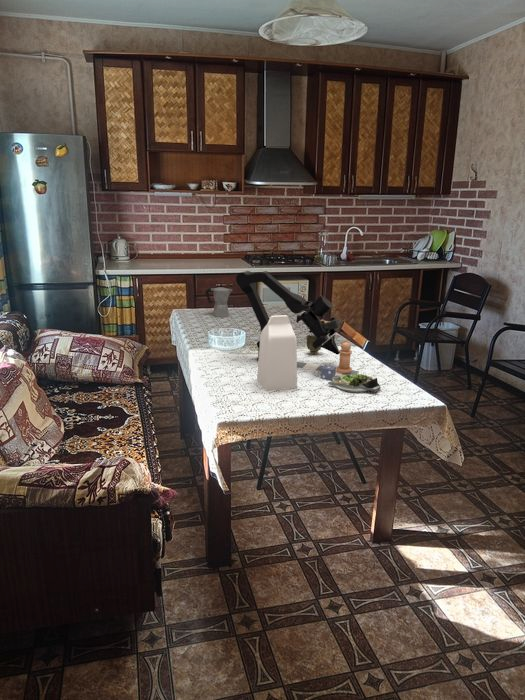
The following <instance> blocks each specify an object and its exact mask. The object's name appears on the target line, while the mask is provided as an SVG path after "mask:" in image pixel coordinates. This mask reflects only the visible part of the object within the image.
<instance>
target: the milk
mask: <svg viewBox="0 0 525 700" xmlns="http://www.w3.org/2000/svg"><path fill="white" fill-rule="evenodd" d="M259 337H260V338H259V341H260V347H259V360H258V359H257V360H258V363H257V374H256V380H257V382H258V384H260V386H261V387H262V388H263V389H264V390H265V391H276V390H291V389H298V388H297V387H298V377H297V376H298V367H297V362H298V353H297V352H298V346H297V345H298V344H297V343H298V340H297V336H296V334H295V331H294V328H293V327H292V324H291V321H290V319H289V316H288V315H285V314H284V315H271V316H270V317H269V321H268V323H267V325H266V326H265V327H264V329H263V330H262V332H261V331H260V336H259Z"/></svg>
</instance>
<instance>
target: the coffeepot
mask: <svg viewBox="0 0 525 700" xmlns="http://www.w3.org/2000/svg"><path fill="white" fill-rule="evenodd" d="M209 292H210V293H213V300H214V305H213V312H212V316H213V317H216V318H227V317H229V316H230V313H229V306H228V301H229V297H230V295H231V293H232V292H233V289H232V288H226V287H223V284H222V283H220V284H219V286H218V287H215V288H211V287H209V288H207V289H206V290H205V292H204V293H205V295H206V298H207V302H208V303H209V304H213V301H212V300H211V296H210V294H209Z"/></svg>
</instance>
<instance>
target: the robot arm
mask: <svg viewBox="0 0 525 700" xmlns="http://www.w3.org/2000/svg"><path fill="white" fill-rule="evenodd" d="M235 282H236V284H237V286H238V288H239V289H240V291H241V292H243V293H244V294H245V295H246V298H247V300H248V301H249V303H250V306H251V309H252V310H253V313H254V314H255V317H256V319H257V322H258V324H259V326H260V328H259V329H260V333H261V332H262V330H263V329H264V327H265V326H266V325H267V323H268V321H269V319H270V317H269V314H268V313H267V310H266V308H265V306H264V304H263V301H262V299H261V297H260V295H259V292H258V289H257V283H263V284H264V285H265V286H266V287H267V288H268V289H270V290H271V291H272V292H273V293H274V294H275V295H277V297H278V298H280V299H281V300H282V301H283V302H284V303H285V306H286V307H287V308H288V309H289V310H290V312H291V313H293V314H294V315H295V314H297V315H296V320H295V321H296V322H295V323H299V322H301V321H302V323H303V324H304V325H305V327H307V329H308V333H309V334H312V333H313V334H312V335H314V336H315V337H316V339H315V341H314V342H313V343H312V347H313V348H314V349H315V350H316V349H317V348H318V347H319V346H320V345H322V346H321V349H322V348H323V349H325V350H326V351H329V352H331V353H333V354H336V355H340V353H339V350H340V349H339V347H338V345H337V342H336V341H335V338H336V334H335V333H337V332H338V331H339V329H338V328H339V327H341V325H340V322H341V321H340V319H339V318H338V317H336V316H332V317H330V319H329V320H327V321H328V322H326V323H325V322H324V321H325V320H324V319H321V320H322V321H320V318H322V317H324V316H325V315H326V314H327V313H329V312H330V311H331V310H332V309H333V304H332V302H331V301H330V300H329V299H327V298H326V297H324V296H323V295H322V294H321V295H319V296H318V297H317V299H316V300H314V301H308V300H306V298H304V297H302V295H299V294H297V293H294V292H293V291H290V290H289V289H288V288H287V287H286V286H284V285H283V284H282V283H281V282H280V281H279V280H278V279H276V278H275V277H274V276H272V275H271V274H270V272H269V271H267V270H264V271H256V272H255V271H253V272H252V271H250V270H246V271H245V270H244V271H242V272H239V273H238V274H237V275H236V277H235ZM307 310H308V311H307ZM302 312H303V313H302ZM300 313H301V314H300ZM319 317H320V318H319ZM256 346H257V350H258V354H257V356H256V360H259V347H260V340H258V341H257V342H256Z"/></svg>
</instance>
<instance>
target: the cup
mask: <svg viewBox="0 0 525 700" xmlns="http://www.w3.org/2000/svg"><path fill="white" fill-rule="evenodd" d="M315 339H316V337H315V336H313V334H308V335H306V338H305V340H306V348H307V349H308V350H309V354H310V355H313V356H315V355H318V354H319V351H321V349H322V347H321V346H322V345H320V346H319V347H318V348H317V349H316V350H315V349H314V348H313V347H312V343H313V342H314V341H315Z"/></svg>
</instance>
